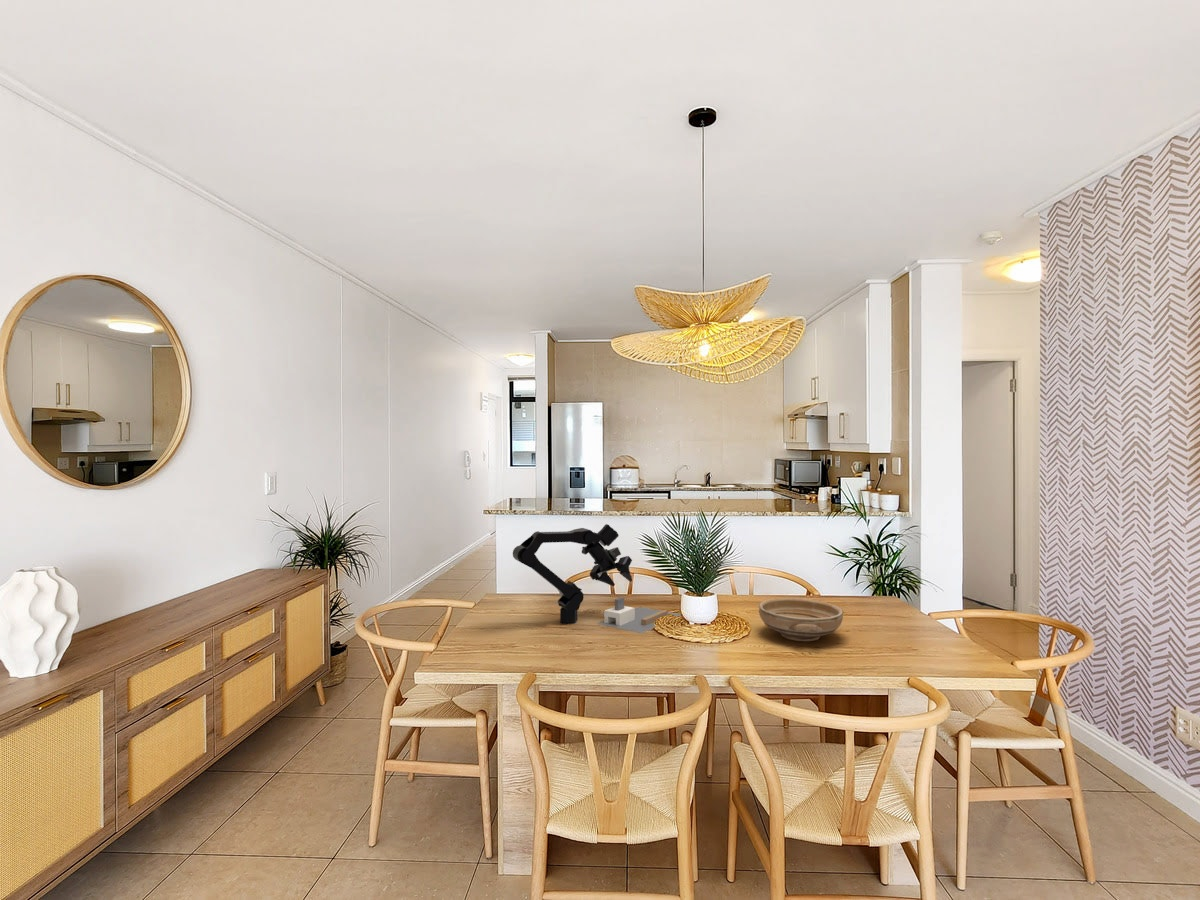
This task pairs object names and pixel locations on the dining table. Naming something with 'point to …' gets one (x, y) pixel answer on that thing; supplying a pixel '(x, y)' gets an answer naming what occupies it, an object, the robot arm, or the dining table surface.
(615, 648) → the dining table surface
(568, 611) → the robot arm
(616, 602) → the cabinet block
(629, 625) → the cleat board
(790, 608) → the ceramic bowl
